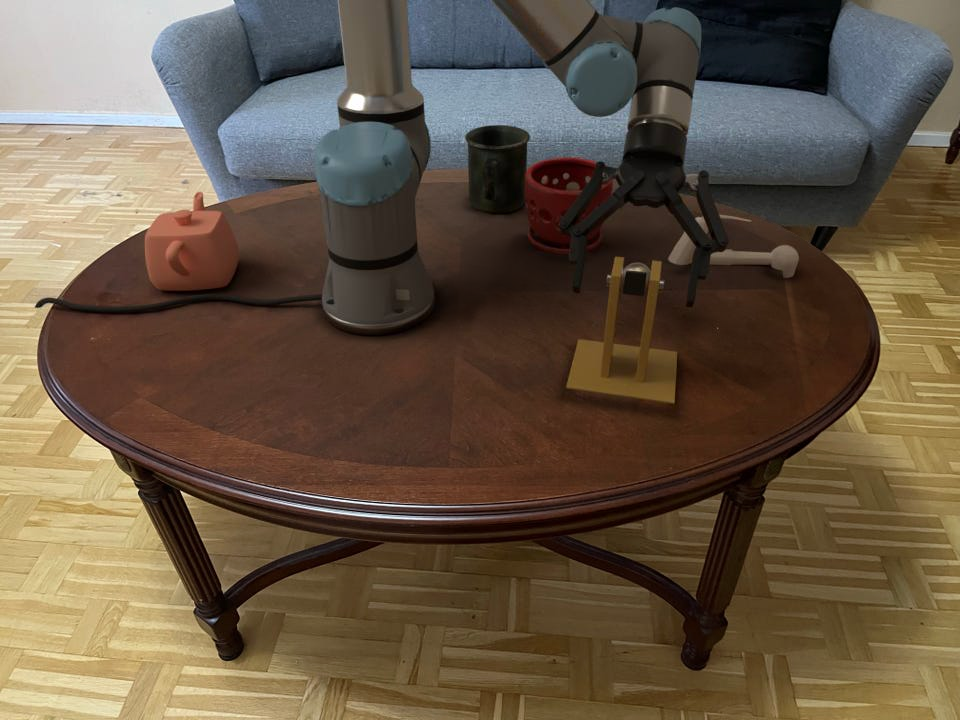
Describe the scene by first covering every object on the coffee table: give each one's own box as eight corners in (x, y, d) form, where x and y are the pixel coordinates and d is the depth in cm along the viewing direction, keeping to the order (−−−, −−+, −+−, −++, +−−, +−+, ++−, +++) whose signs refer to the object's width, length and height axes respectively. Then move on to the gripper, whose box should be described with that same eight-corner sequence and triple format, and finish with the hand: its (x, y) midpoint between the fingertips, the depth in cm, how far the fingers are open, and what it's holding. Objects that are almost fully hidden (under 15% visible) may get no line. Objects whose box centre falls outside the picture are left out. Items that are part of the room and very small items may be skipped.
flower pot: (506, 240, 114) (507, 168, 107) (570, 220, 120) (575, 150, 113) (557, 273, 106) (562, 196, 99) (623, 249, 111) (632, 175, 104)
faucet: (777, 306, 106) (817, 250, 100) (668, 266, 105) (702, 207, 99) (772, 292, 109) (810, 237, 104) (666, 253, 108) (698, 195, 102)
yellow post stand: (577, 348, 90) (586, 241, 81) (675, 361, 87) (695, 252, 79) (565, 397, 82) (573, 284, 73) (672, 413, 79) (694, 298, 71)
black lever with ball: (620, 289, 89) (624, 260, 88) (649, 292, 88) (653, 263, 88) (615, 298, 76) (619, 264, 76) (649, 302, 76) (654, 268, 75)
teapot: (142, 308, 99) (119, 240, 93) (178, 249, 113) (160, 186, 107) (226, 305, 99) (209, 236, 93) (251, 246, 114) (237, 183, 108)
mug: (531, 192, 130) (534, 126, 123) (520, 226, 119) (522, 155, 112) (473, 188, 132) (472, 123, 125) (456, 222, 120) (454, 152, 113)
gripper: (755, 155, 90) (734, 317, 87) (560, 140, 96) (534, 292, 93) (767, 126, 83) (745, 302, 80) (555, 111, 88) (527, 275, 85)
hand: (632, 297), depth 86 cm, fingers open, 13 cm apart
